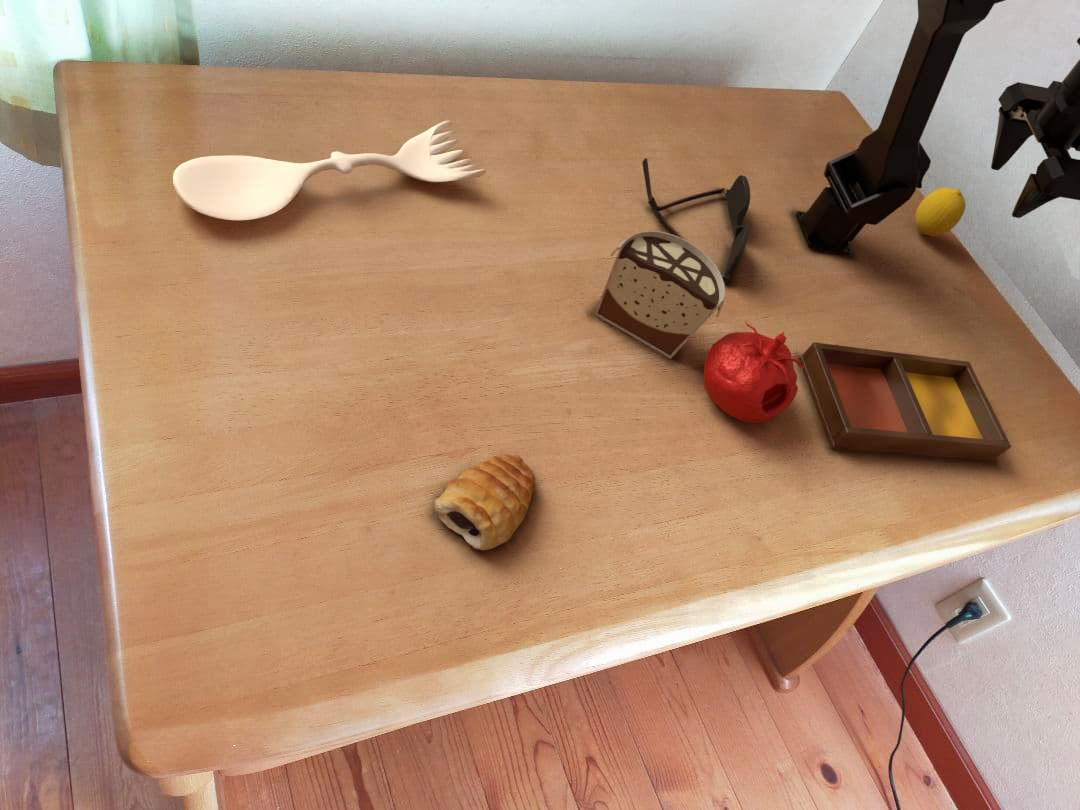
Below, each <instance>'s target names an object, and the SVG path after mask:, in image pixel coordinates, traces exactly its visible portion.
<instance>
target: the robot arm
mask: <svg viewBox="0 0 1080 810" xmlns="http://www.w3.org/2000/svg"><path fill="white" fill-rule="evenodd" d="M1004 1H1006V0H917V20H916V24H915V27H914V30H913V32H912V34H911V38H910V41H909V43H908V46H907V49H906V51H905V54H904V57H903V60H902V63H901V65H900V68H899V70H898V73H897V75H896V79H895V81H894V84H893V87H892V90H891V93H890V96H889V99H888V101H887V103H886V106H885V109H884V112H883V115H882V117H881V120H880V123H879V124H878V128H876V129H874V130H873V131H872V132H870V133H869V134H868V135H866V136H864V137H863V138H862V140H861V142H860V144H859V146H858V147H857V148H856V149H853V150H852V151H850V152H847V153H845V154H844V155H841V156H838V157H836V158H834V159H832V160H830V161H828V162H827V163H826V166H825V169H824V171H823V177H824V178H825V179H826V181H827V182H828V184H829V186H824V188H823V189H822V190H821V192H820V194H819V195H818V196H817V197H816V199H815V200H814V202H813V203H812V204H811V206H810V207H809V208H808V210H807V211H801V210H798V211H796V213H795V217H796V220H797V223H798V226H799V227H800V230H801V233H802V235H803V237H804V240H805V242H806V244H807V247H808V248H809V249H811V250H817V251H821V252H822V251H823V252H829V253H835V254H839V255H840V254H842V255H847V256H849V255H851V253H852V251H853V250H852V248H851V245H850V244H849V243H852V242H853V241H854V240H855V238H856V237H857V236H858V234H859V233H860V232H861V231H862V230H863V228H864V227H865V226H866V225H871V226H872V225H873V226H877V225H878V224H880V223H881V222H883V220H885V219H886V218H888V217H889V216H890V215H892V214H893V213H894V212H895V211H897V210H898V209H899V208H901V207H902V206H903V205H905V204H906V203H907V202H909V200H910V199H911V198H912V197H913V196H914V194H915V193H916V190H917V189H922V188H923V179H924V177H925V175H926V174H927V172H928V171H929V169H930V166H931V163H932V160H931V158H930V156H929V155H928V153H927V152H926V150H925V148H924V147H923V145H922V143H921V140H922V136H923V134H924V132H925V129H926V127H927V124H928V122H929V120H930V117H931V115H932V113H933V110H934V107H935V105H936V103H937V100H938V99H939V95H940V93H941V91H942V89H943V86H944V84H945V81H946V79H947V76H948V74H949V71H950V69H951V67H952V64H953V62H954V60H955V57H956V55H957V53H958V50H959V48H960V45H961V43H962V41H963V39H964V36H965V34H966V33H968V32H969V31H970V30H971V29H973V28H974V27H976V26H977V25H978V24H980V23H981V22H983V21H984V20H985V19H986V18H987V17H988V15H989V14H990V12H991V11H992V9H993V7H994V6H995V4H998V3H1001V2H1004ZM1076 43H1077V44H1078V45H1079V46H1080V37H1078V38H1077V40H1076ZM998 102H999V104H1000V106H999V108H998V113H999V115H998V123H997V130H996V137H995V143H994V148H993V154H992V159H991V160H992V161H991V163H990V164H991V165H990V168H991V170H992V171H993V170H994V171H1000V170H1001V169H1002V168H1003V167H1004V166H1005V165H1006V164H1007V163H1008V162H1009V161H1010V160H1011V159H1012V157H1013V156H1014V155H1015V154H1016V153H1017V151H1019V149H1020V148H1021V147H1022V146H1023V145H1024V144H1025V143H1026V141H1027V140H1028V139H1029V138H1030V137H1032V136H1034V138H1035V140H1036V142H1037V143H1039V144H1040V146H1041V147H1042V149H1043V152H1044V153H1045V155H1046V157H1047V158H1045V159H1043V160H1041V161H1040V163H1039V164H1038V165H1037V167H1036V172H1035V173H1030V174H1029V176H1028V178H1027V180H1026V182H1025V185H1024V186H1023V189H1022V190H1021V192H1020V194H1019V197H1018V199H1017V200H1016V202H1015V204H1014V208H1013V210H1012V213H1011V217H1012V218H1015V219H1016V218H1017V219H1020V218H1022V217H1025V216H1026V215H1028V214H1030V213H1031V212H1033V211H1035V210H1036V209H1039V208H1040V207H1042V206H1044V205H1046V204H1048V203H1049V202H1051V201H1054V200H1056V199H1058V198H1063V199H1070V200H1074V201H1075V200H1076V201H1080V159H1079V158H1078V159H1077V158H1073V157H1072V156H1071V154H1070V152H1069V150H1070V149H1071V148H1072V149H1074V150H1075V151H1076V152H1080V58H1079V59H1078V60H1077V62H1076V63H1075V65H1074V66H1073V67H1072V68H1071V69H1070V71H1069V72H1068V73H1067V74H1066V76H1065V77H1064V78H1063V80H1062V81H1058V80H1052V81H1051V83H1050V84H1049V85H1048V87H1045V86H1040V85H1034V84H1029V83H1024V82H1019V81H1018V82H1014V83H1013V84H1010V85H1008V86H1006V87H1005V89H1004V90H1003V91H1002V93H1001V95H1000V96H999V97H998Z"/></svg>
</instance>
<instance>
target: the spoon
mask: <svg viewBox="0 0 1080 810" xmlns="http://www.w3.org/2000/svg"><path fill="white" fill-rule="evenodd" d="M452 124H453V121H452V120H443V121H440V122H439V123H438V124H436V125H434V126H432V127H429V128H428V129H427V130H425V131H424V132H421V133H419V134H418V135H416V136H413V137H412V138H410V139H409V140H407V141H406V142H405V143H404V144H403V145H402V146H401V148H400V149H399V150H398V152H397V153H395V154H394V155H386V154H382V153H381V154H380V153H374V152H373V153H372V152H371V153H370V152H369V153H368V152H367V153H356V154H355V153H354V154H353V153H352V154H348V153H344V152H341V151H333V152H331V153H330V158H326V159H322V160H317V161H311V162H305V163H301V162H291V161H283V160H276V159H270V158H269V159H268V158H265V157H259V156H252V155H251V156H250V155H207V156H201V157H197V158H193V159H190V160H187V161H185V162H183V163H181V164H180V165H178V166H177V167H176V169H175V170H174V171H173V175H172V183H173V187H174V190H175V192H176V194H177V196H178V197H179V199H180V200H181V201H182V202H183V203H184V204H185V205H186V206H188V207H189V209H192V210H193V211H195V212H198V213H199V214H202V215H205V216H208V217H210V218H215V219H219V220H227V221H250V220H256V219H260V218H265V217H267V216H270V215H273V214H274V213H277V212H279V211H280V210H282V209H283V208H285V207H286V206H287V205H288V204H290V202H291V201H292V200H293V199H294V197H296V195H297V194H298V193H299V192H300V190H301V189H302V187H303V186H304V185H305V183H307V181H308V180H309V179H310V178H312V177H313V176H314V175H317V174H319V173H321V172H324V171H329V170H331V171H338V172H340V173H342V174H345V175H347V174H350V173H352V171H353V169H355V168H357V167H363V166H380V167H384V168H387V169H391V170H393V171H396V172H398V173H400V174H402V175H405V176H408V177H410V178H412V179H414V180H415V179H416V180H419V181H423V182H429V183H446V182H455V181H467V180H473V179H478V178H481V177H483V176H484V175H485V174H486V173H487V170H486V169H484V168H482V169H476V168H477V167H478V164H469V163H470V162H471V161H472V158H465V159H461V160H457V161H454V160H456V159H457V158H459V157H460V156H461V155H463V154H464V150H463V149H458V150H453V151H447V152H444V151H446V150H448V149H450V148H451V147H453V146H454V145H456V144H457V143H458V142H459V140H458V139H451V140H448V141H446V140H447V139H449V138H451V137H452V136H454V134H456V132H455V131H451V130H450V131H446V132H445V130H447V129H448V128H450V127H451V126H452ZM443 131H444V132H443ZM441 132H442V133H441ZM444 141H445V142H444ZM442 152H444V153H442ZM467 164H468V165H467ZM475 169H476V170H475Z"/></svg>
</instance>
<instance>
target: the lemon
mask: <svg viewBox="0 0 1080 810" xmlns="http://www.w3.org/2000/svg"><path fill="white" fill-rule="evenodd" d="M965 210H966V199H965V197H964V195H963V194H962V191H961V189H959V188H954V187H939V188H937V189H936V190H934V191H932V192H930V193H929V194H928V195H927V196H925V198H923V200H921V202H920V203H919V205H918V207H917V208H916V210H915V214H914V215H915V216H914V221H915V225H916V228H917V229H918V233H919V234H920V235H926V236H929V237H939V236H942V235H945V234H946V233H948V232H950V231H951V230H952V229H953V228H955V227H956V226H957V225H958V224H959V222H960V221H961V219H962V217H963V215H964V213H965Z"/></svg>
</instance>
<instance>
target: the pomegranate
mask: <svg viewBox="0 0 1080 810" xmlns="http://www.w3.org/2000/svg"><path fill="white" fill-rule="evenodd" d="M744 323H745V325H746V326H747V327H748V328H750V329H751V330H753V331H734V332H730V333H728V334H727V333H726V334H725V335H724V336H722V337H721V338H719V340H717V341H716V342H714V343H713V344H712V345H711V346H710V348H709V349H708V352H707V354H706V358H705V360H704V367H703V383H704V385H703V386H704V389H705V391H706V394H707V395H708V397H709V398H710V399H711V400H712V401H713V402H714V403H715V404H716V406H717V407H719V409H720V410H722V412H724V413H726V414H727V415H729V416H731V417H732V418H735V419H737V420H739V421H741V422H746V423H752V424H760V423H764V422H767V421H768V420H771V419H773V418H775V417H776V416H778V415H780V414H782V413H783V412H785V411H786V410H787V409H789V407H790V406H791V405H792V403H793V401H794V400H795V398H796V395H797V392H798V390H799V386H798V385H797V381H798V374H797V372H796V370H795V367H794V362H795V363H796V364H797V365H798V367H799V368H800V369H802V368H804V366H802V365H801V363H800V361H799V358H796V357H793V356H792V352H791V350H790V349H789V347H788V345H786V344H785V343H786V341H787V336H786V335H784V334H785V332H784V331H783V332H781V333H778V335H776V336H775V338H772V337H769V336H767V335H764V334H762V333H761V334H760V333H759V332H757V328H755V327H754V326H752V325H750V324H749V323H748V322H747V320H744Z"/></svg>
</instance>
